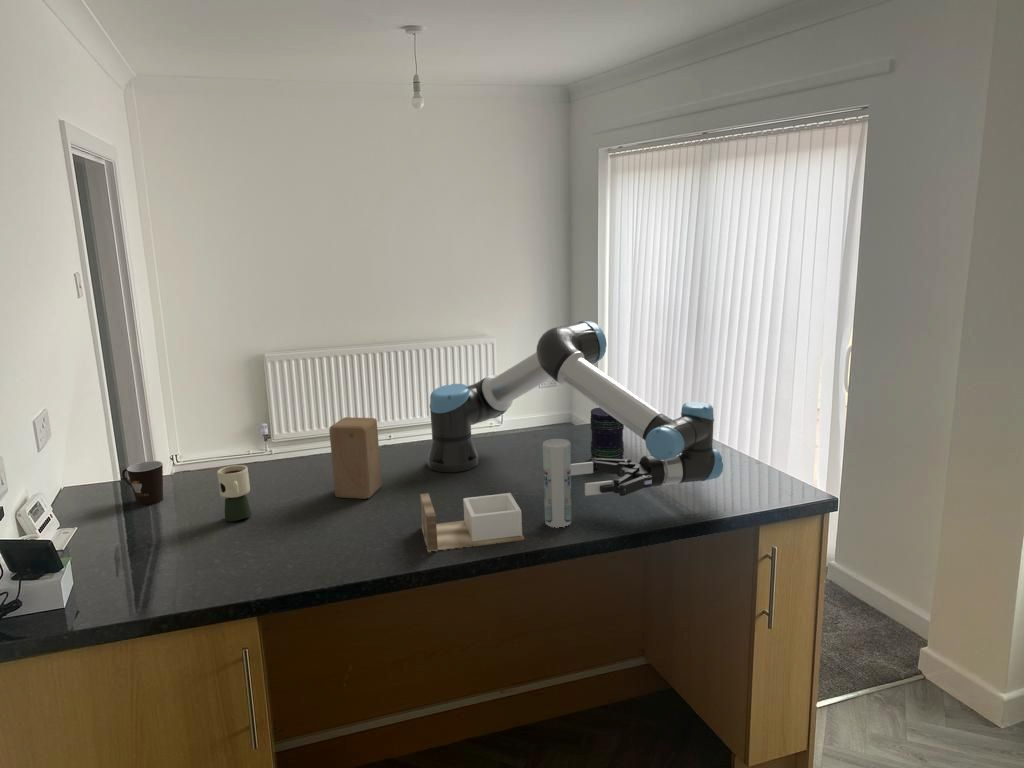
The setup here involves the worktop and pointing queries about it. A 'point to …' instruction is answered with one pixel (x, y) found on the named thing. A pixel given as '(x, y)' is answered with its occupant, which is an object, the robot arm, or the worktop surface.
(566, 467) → the spray can
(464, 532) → the brown l-shaped stand
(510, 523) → the sleeve
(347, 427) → the wooden block
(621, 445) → the storage jar
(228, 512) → the character mug
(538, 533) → the worktop surface
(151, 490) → the coffee mug
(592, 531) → the worktop surface
